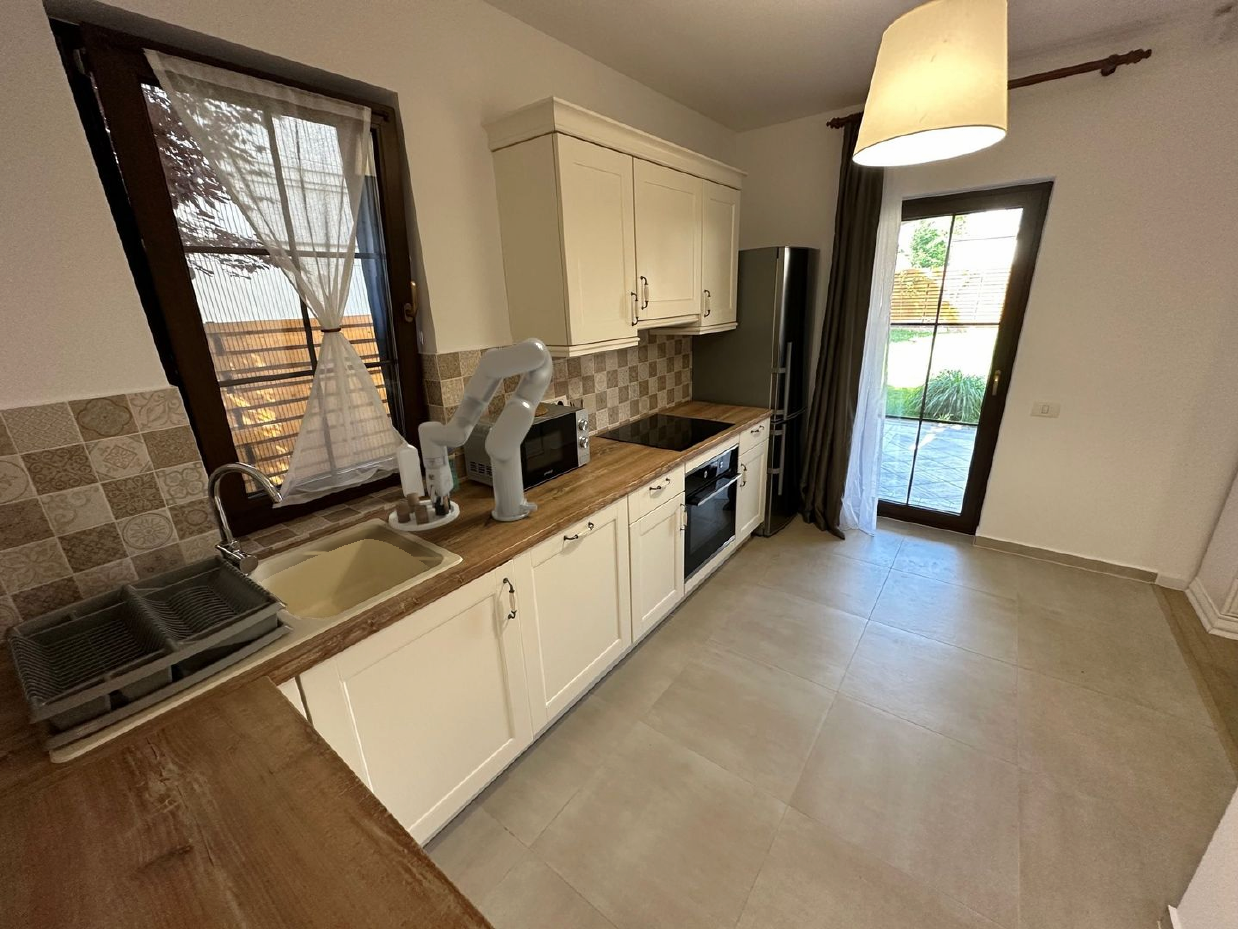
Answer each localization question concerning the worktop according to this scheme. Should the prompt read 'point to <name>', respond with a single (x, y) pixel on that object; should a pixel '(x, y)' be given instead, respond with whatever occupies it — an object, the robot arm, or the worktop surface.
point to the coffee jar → (452, 468)
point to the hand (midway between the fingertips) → (443, 511)
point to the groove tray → (433, 518)
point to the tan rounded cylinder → (445, 501)
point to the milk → (409, 469)
